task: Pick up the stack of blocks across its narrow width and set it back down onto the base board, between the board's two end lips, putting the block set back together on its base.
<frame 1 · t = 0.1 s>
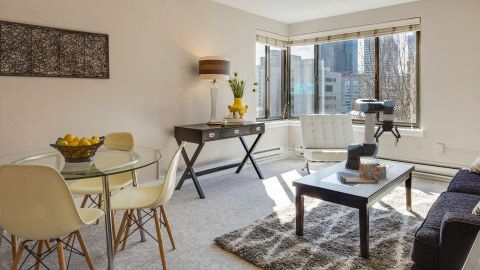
hand: (386, 146, 268), 28 cm above the table, fingers open, 13 cm apart
stack of blocks: (372, 177, 285), on the table
base board: (358, 181, 271), on the table
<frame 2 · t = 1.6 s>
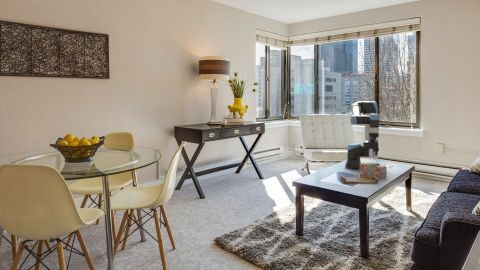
hand: (373, 157, 283), 16 cm above the table, fingers open, 13 cm apart
nothing on the table moved.
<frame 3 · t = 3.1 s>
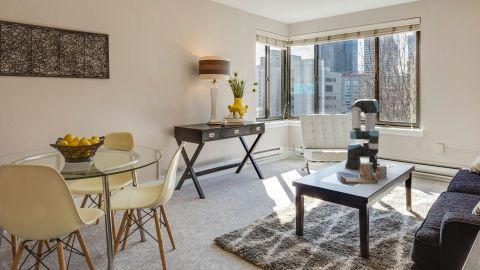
hand: (372, 175, 285), 2 cm above the table, fingers open, 8 cm apart
stack of blocks: (372, 177, 285), on the table, touching gripper
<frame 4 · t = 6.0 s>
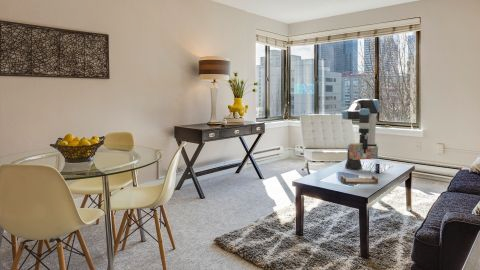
hand: (362, 156, 271), 20 cm above the table, fingers closed on stack of blocks, 7 cm apart
stack of blocks: (363, 158, 272), point 18 cm above the table, touching gripper
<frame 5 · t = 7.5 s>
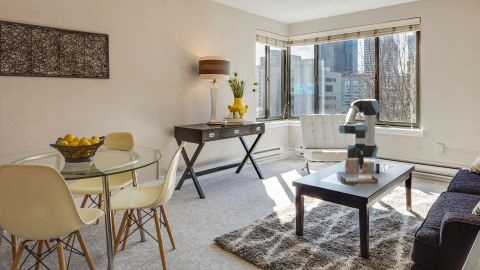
hand: (359, 171, 270), 8 cm above the table, fingers closed on stack of blocks, 7 cm apart
stack of blocks: (359, 173, 270), point 6 cm above the table, touching gripper
when the fingers open (5 cm above the table, at t = 8.6 s): stack of blocks drops 1 cm, resting on base board.
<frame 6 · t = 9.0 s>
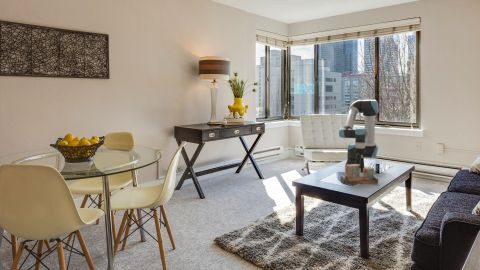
hand: (359, 174, 270), 6 cm above the table, fingers open, 12 cm apart
stack of blocks: (359, 179, 271), point 1 cm above the table, touching base board
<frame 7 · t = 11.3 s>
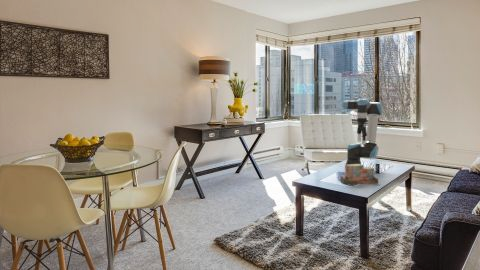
hand: (361, 142, 285), 29 cm above the table, fingers open, 13 cm apart
nothing on the table moved.
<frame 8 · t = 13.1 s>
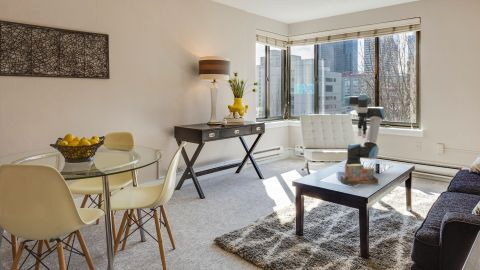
hand: (361, 137, 292), 33 cm above the table, fingers open, 13 cm apart
nothing on the table moved.
at the end: stack of blocks inside the target area on the base board (0.8 cm from its centre), point 1.3 cm above the base board's base; stack of blocks tilted 0°; the gripper is holding nothing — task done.
